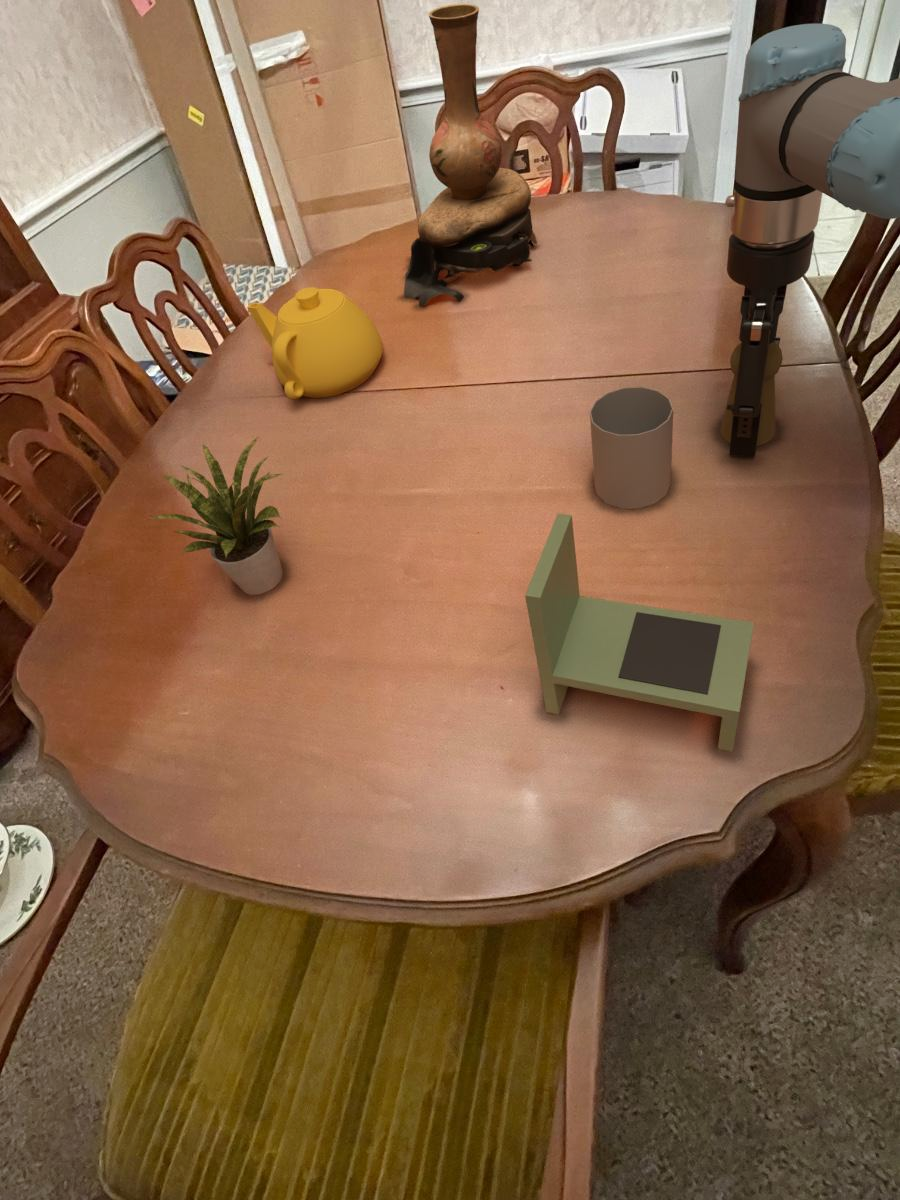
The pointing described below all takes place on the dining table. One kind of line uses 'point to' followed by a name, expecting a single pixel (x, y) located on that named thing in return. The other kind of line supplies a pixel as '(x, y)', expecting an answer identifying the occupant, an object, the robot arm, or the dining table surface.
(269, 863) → the dining table surface
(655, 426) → the cup
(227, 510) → the house plant
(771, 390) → the brown peg doll
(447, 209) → the vase
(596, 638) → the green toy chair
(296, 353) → the teapot
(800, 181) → the robot arm
